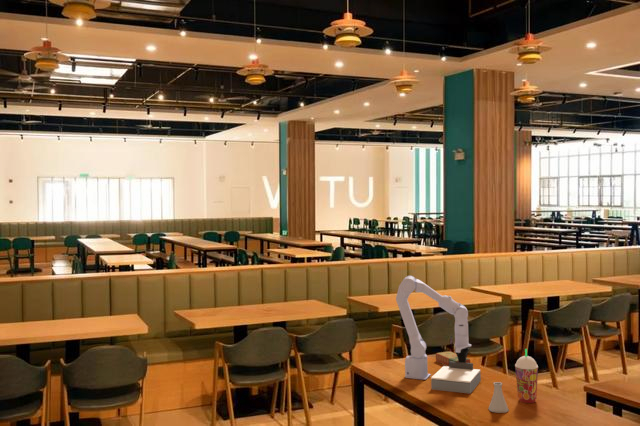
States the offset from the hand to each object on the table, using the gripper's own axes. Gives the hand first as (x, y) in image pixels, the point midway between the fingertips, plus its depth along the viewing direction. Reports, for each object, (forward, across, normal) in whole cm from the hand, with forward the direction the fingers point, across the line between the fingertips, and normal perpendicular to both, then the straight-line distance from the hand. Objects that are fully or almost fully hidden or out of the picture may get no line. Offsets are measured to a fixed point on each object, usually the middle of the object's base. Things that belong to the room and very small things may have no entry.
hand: (462, 365), depth 276 cm
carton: (+6, +21, +10) cm, 24 cm away
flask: (+6, -34, -22) cm, 41 cm away
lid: (+1, -10, 0) cm, 11 cm away
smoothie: (+6, -21, -30) cm, 37 cm away
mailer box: (+6, -10, 0) cm, 12 cm away
